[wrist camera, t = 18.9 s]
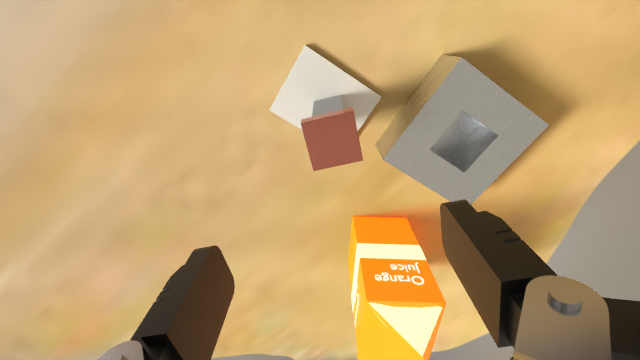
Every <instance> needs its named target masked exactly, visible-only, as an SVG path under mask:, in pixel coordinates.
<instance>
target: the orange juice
mask: <svg viewBox="0 0 640 360" xmlns="http://www.w3.org/2000/svg"><path fill="white" fill-rule="evenodd" d="M348 268H349V277H350V286H351V298H352V308H353V314H354V323H355V332H356V341H357V350H358V353H357V358H358V359H359V360H429V357H430V353H431V350H432V347H433V344H434V340H435V337H436V334H437V330H438V327H439V324H440V321H441V317H442V314H443V311H444V308H445V304H446V302H445V300H444V298H443V296H442V293H441V291H440V289H439V287H438V285H437V283H436V281H435V278H434V276H433V274H432V272H431V270H430V268H429V265H428V263H427V261H426V258H425V256H424V254H423V251H422V249H421V247H420V245H419V244H418V242H417V240H416V237H415V235H414V233H413V231H412V229H411V227H410V224H409V222H408V220H407V218H388V217H358V216H353V219H352V230H351V240H350V251H349V261H348Z"/></svg>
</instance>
